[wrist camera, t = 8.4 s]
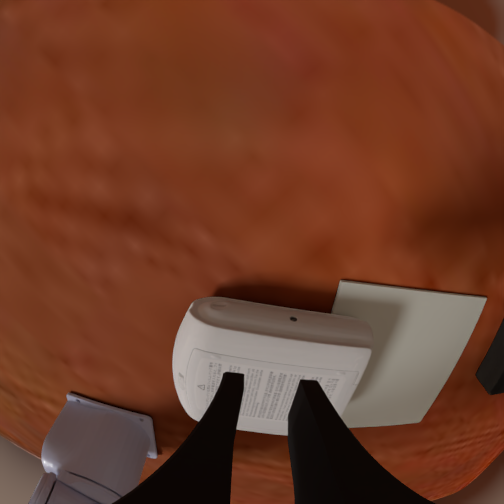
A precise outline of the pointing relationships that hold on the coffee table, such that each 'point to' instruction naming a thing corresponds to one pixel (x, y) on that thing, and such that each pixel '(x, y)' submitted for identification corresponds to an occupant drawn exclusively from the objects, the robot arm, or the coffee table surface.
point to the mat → (405, 348)
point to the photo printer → (266, 357)
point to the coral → (493, 365)
